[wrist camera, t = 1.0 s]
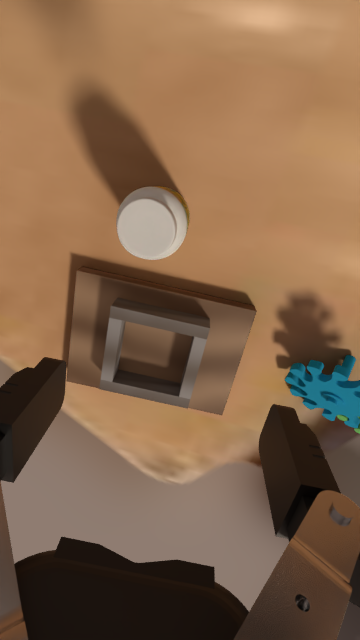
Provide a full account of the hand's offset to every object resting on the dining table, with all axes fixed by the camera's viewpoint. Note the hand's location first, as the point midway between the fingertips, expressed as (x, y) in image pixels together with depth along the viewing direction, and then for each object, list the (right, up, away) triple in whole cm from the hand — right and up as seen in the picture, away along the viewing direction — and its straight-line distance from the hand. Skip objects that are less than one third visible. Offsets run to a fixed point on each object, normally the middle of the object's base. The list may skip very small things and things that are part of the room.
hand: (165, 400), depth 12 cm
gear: (+17, -3, +24) cm, 29 cm away
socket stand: (-2, +1, +23) cm, 23 cm away
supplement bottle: (-1, +13, +18) cm, 22 cm away
